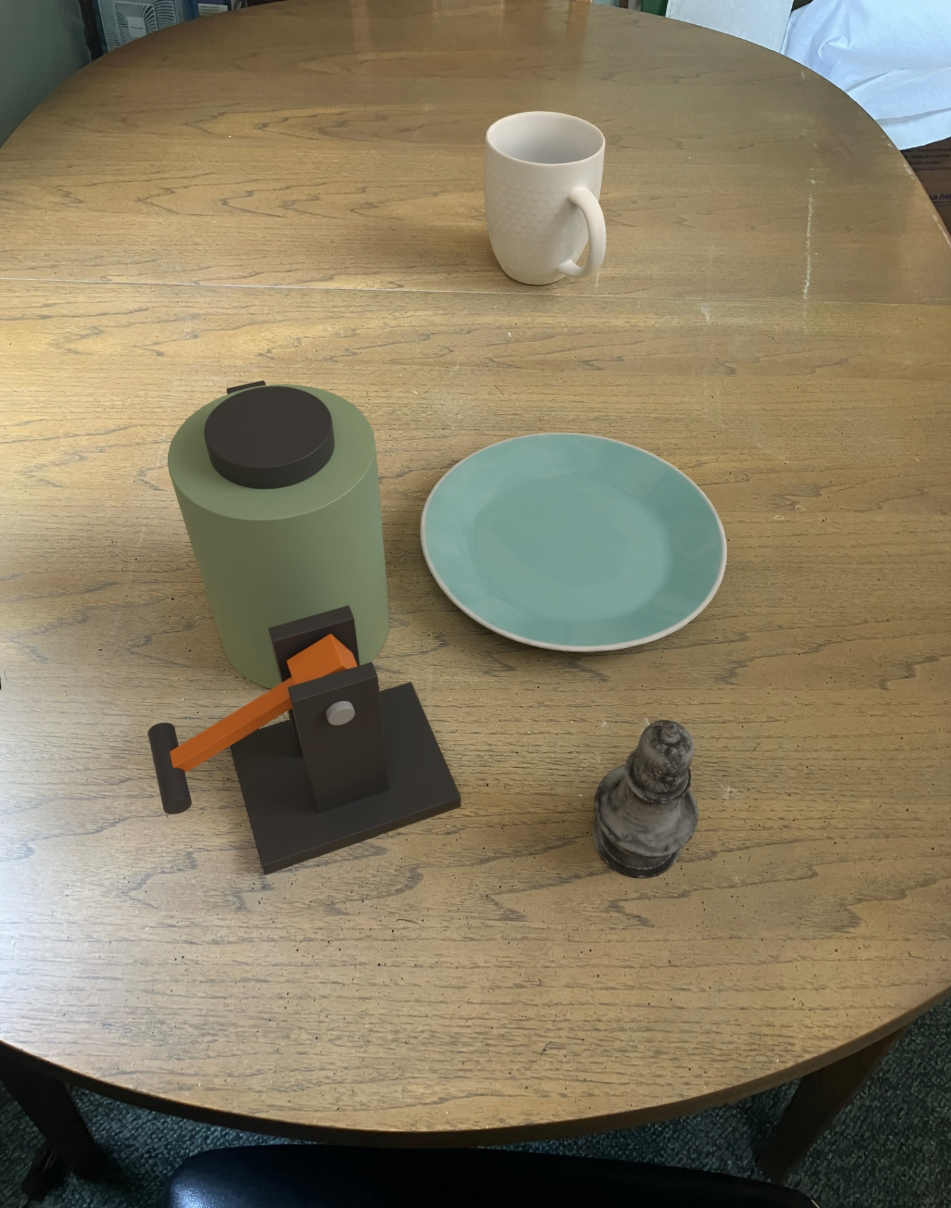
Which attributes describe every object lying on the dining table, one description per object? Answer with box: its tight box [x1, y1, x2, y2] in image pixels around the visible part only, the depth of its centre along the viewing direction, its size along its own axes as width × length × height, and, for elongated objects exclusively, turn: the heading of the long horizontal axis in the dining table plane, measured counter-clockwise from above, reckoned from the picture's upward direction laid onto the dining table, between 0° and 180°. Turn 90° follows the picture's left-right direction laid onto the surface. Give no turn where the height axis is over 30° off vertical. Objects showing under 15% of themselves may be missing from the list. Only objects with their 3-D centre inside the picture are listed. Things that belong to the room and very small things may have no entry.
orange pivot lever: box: [147, 634, 357, 815], centre depth 50 cm, size 12×5×2 cm, turn 112°
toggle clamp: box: [228, 606, 462, 876], centre depth 53 cm, size 12×9×13 cm
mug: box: [483, 110, 607, 286], centre depth 90 cm, size 15×11×13 cm
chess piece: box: [591, 719, 700, 879], centre depth 51 cm, size 6×6×12 cm
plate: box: [419, 431, 728, 653], centre depth 69 cm, size 22×22×3 cm
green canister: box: [167, 380, 390, 690], centre depth 60 cm, size 12×13×18 cm
